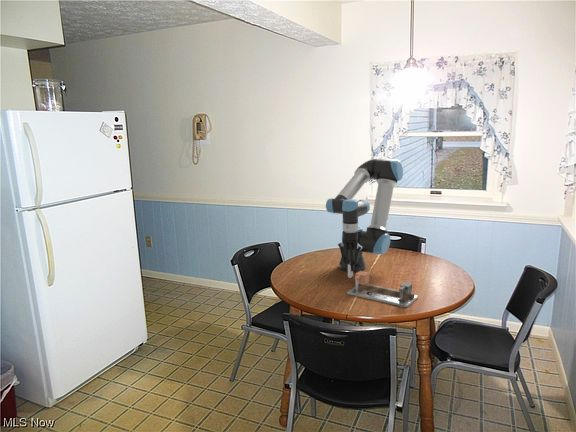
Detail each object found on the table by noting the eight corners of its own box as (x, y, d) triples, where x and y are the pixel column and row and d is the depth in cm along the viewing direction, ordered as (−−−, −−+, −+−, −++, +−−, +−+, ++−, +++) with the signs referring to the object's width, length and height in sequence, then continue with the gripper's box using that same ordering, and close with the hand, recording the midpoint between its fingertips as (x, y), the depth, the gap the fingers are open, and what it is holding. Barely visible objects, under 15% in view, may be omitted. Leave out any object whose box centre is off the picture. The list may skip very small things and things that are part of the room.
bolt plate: (347, 293, 206) (347, 291, 206) (359, 285, 216) (359, 283, 216) (406, 307, 188) (406, 304, 188) (417, 297, 198) (417, 295, 198)
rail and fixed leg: (350, 290, 207) (350, 278, 206) (359, 284, 214) (359, 273, 213) (408, 303, 190) (408, 290, 189) (415, 296, 197) (415, 284, 196)
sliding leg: (351, 289, 207) (351, 276, 205) (360, 283, 214) (360, 270, 212) (360, 291, 204) (360, 277, 202) (369, 285, 211) (369, 272, 209)
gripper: (334, 231, 210) (335, 276, 214) (358, 234, 202) (358, 281, 207) (342, 228, 216) (342, 272, 220) (365, 231, 208) (365, 276, 212)
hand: (350, 276), depth 213 cm, fingers closed
